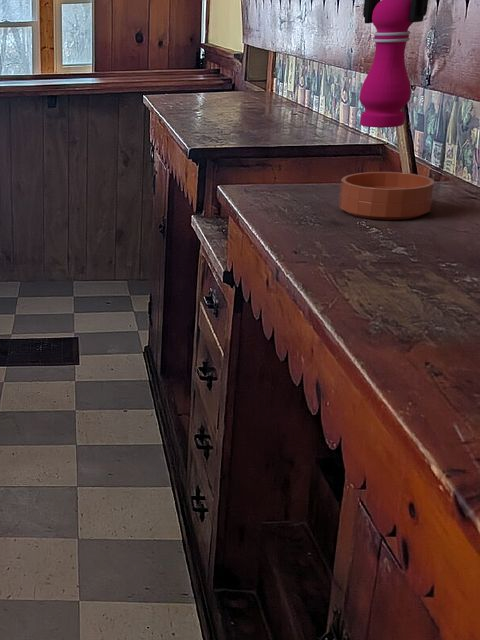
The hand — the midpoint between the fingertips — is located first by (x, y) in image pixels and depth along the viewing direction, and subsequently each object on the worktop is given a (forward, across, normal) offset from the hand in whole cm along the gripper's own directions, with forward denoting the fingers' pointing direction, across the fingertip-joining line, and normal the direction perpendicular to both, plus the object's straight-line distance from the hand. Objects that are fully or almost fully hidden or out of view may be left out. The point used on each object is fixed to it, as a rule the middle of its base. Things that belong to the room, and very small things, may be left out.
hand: (393, 21), depth 128 cm
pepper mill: (+15, 0, 0) cm, 15 cm away
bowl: (+29, -1, -3) cm, 29 cm away
